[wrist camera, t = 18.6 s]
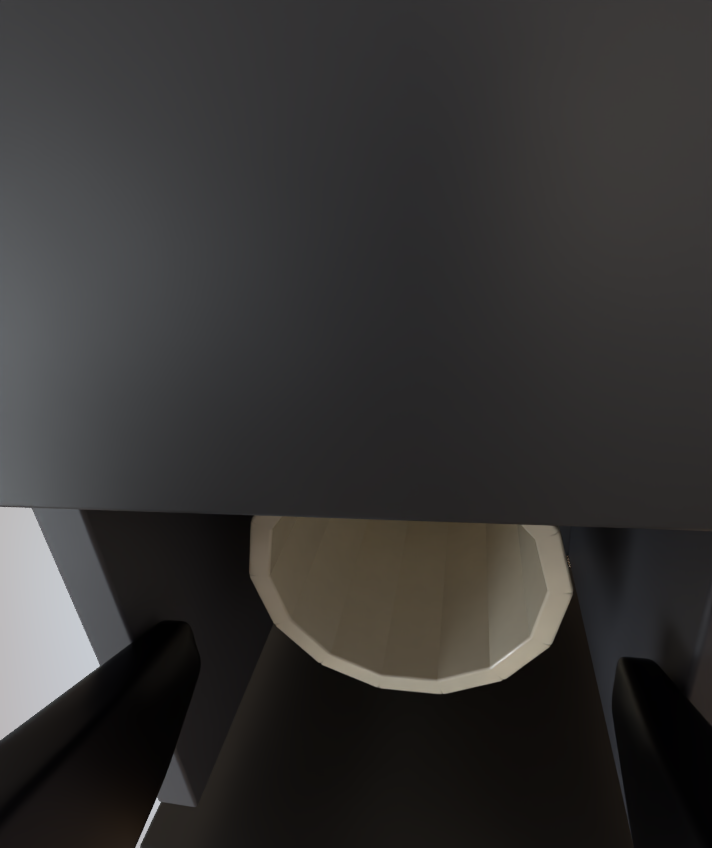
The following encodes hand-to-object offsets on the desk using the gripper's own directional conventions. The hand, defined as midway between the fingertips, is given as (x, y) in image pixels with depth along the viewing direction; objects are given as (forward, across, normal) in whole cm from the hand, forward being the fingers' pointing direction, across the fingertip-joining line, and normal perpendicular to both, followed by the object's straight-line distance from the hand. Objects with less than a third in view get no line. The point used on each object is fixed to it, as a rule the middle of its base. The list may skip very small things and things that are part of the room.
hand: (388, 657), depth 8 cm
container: (+7, 0, 0) cm, 7 cm away
